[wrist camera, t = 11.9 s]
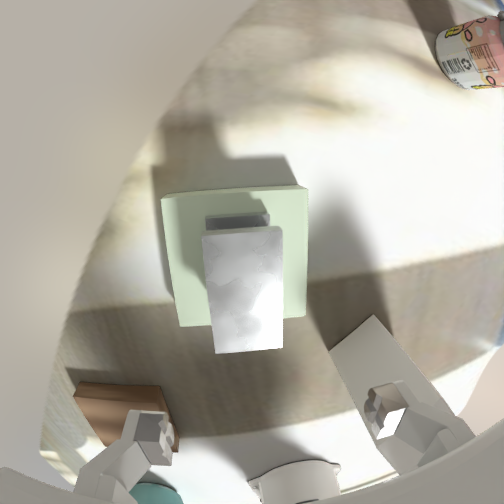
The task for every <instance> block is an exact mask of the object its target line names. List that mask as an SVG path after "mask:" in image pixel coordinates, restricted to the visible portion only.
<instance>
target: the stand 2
mask: <svg viewBox="0 0 504 504" xmlns="http://www.w3.org/2000/svg"><path fill="white" fill-rule="evenodd" d="M161 206H162V215H163V224H164V232H165V239H166V247H167V254H168V261H169V267H170V274H171V280H172V286H173V292H174V297H175V303H176V308H177V314H178V319H179V324H180V327H187V326H204V325H211V318H210V310H209V302H208V294H207V286H206V277H205V268H204V259H203V250H202V240H201V234H202V231H206V224H205V217H206V216H208V215H221V214H234V213H249V212H265V211H268V213H269V214H270V226H280V228H281V229H282V230H283V318H292V317H300V316H305V315H306V293H307V263H308V189H307V188H304V187H302V186H300V185H287V186H264V187H245V188H230V189H216V190H203V191H192V192H181V193H171V194H166V195H165V196H164V197H163V198H161Z"/></svg>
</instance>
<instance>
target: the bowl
mask: <svg viewBox="0 0 504 504" xmlns="http://www.w3.org/2000/svg"><path fill="white" fill-rule="evenodd" d="M128 493H129V494H130V495H131V496H132V497H133V498H134V499H135V500H136V501H137V502H138V504H183V501H182V499H181V497H180V495H179V494H177V493H176V492H175V491H174V490H172V489H170V488H168V487H166V486H163V485H159V484H155V483H138V484H136V485H135V486H134V487H133V488H132V489H131V490H130V491H129V492H128Z"/></svg>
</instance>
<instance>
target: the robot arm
mask: <svg viewBox="0 0 504 504" xmlns="http://www.w3.org/2000/svg"><path fill="white" fill-rule="evenodd" d="M367 395H368V397H369V398H368V399H367V400H366V401H365V404H364V414H365V417H366V419H367V421H368V422H370V423H372V427H371V429H372V431H373V433H374V435H375V437H376V439H380V438H383V437H386V436H390V435H393V434H394V435H395V436H396V437H398V438H399V439H401V440H402V441H404V442H405V443H407V444H409V445H410V446H412V447H413V448H415V449H416V450H418V451H420V452H421V453H423V456H422V457H421V459H420V460H419V461H418V463H417V465H418V468H416V469H414V470H412V471H409V472H407V473H405V474H402V475H400V476H397V477H395V478H392V479H389V480H387V481H384V482H381V483H378V484H375V485H373V486H370V487H366V488H363V489H360V490H357V491H353V492H350V493H346V494H343V495H341V492H340V488H339V484H338V481H337V477H336V475H337V474H338V473H339V472H340V470H341V466H340V465H333V464H329V463H327V462H325V461H319V460H309V461H301V462H295V463H291V464H287V465H284V466H281V467H278V468H275V469H273V470H271V471H269V472H267V473H266V474H264V475H263V476H261V477H259V478H256V479H253V480H251V481H249V482H248V483H249V486H250V488H251V489H252V490H253V491H254V493H255V494H256V495H257V496H258V497H259V499H260V501H261V502H262V504H504V418H503V419H502V420H500V421H499V422H498V423H496V424H495V425H493V426H492V427H490V428H489V429H487V430H486V431H484V432H483V433H481V434H480V435H478V436H475V435H474V434H473V432H472V431H471V429H470V428H469V427H468V425H467V424H466V423H465V421H464V420H463V419H461V418H459V417H457V416H454V415H452V414H449V413H447V412H444V411H442V410H440V409H437V408H435V407H433V406H430V405H428V404H426V403H423V402H421V403H419V401H418V400H417V399H416V397H415V396H414V394H413V393H412V392H411V390H410V389H409V388H408V386H407V385H406V384H405V382H404V381H403V380H398V381H394V382H391V383H387V384H383V385H380V386H376V387H373V388H370V389H369V391H368V394H367ZM168 420H169V416H168V414H167V412H159V411H144V410H130V411H129V412H128V414H127V418H126V421H125V425H124V428H123V432H122V436H121V439H117V440H116V441H114V442H113V443H112V444H111V445H109V446H108V447H107V448H106V449H105V450H103V451H102V452H101V453H100V454H98V455H97V456H96V457H95V458H93V459H92V460H91V461H90V462H88V463H87V464H86V465H84V466H83V467H82V468H81V469H80V472H79V475H78V478H77V482H76V485H75V488H74V492H70V491H67V490H64V489H61V488H57V487H55V486H52V485H49V484H46V483H44V482H41V481H38V480H36V479H33V478H31V477H29V476H26V475H24V474H22V473H19V472H17V471H15V470H13V469H10V468H7V467H3V468H0V504H138V502H137V501H136V500H135V499H134V498H133V497H132V496H131V495H130V494H129V493H128V492H129V491H130V490H131V489H132V488H133V487H134V486H135V484H136V483H137V482H138V481H139V480H140V479H141V477H142V476H143V475H144V474H145V473H146V472H147V471H148V469H149V468H150V467H151V465H163V466H171V465H172V455H173V453H172V450H171V447H172V446H173V445H174V430H173V427H172V424H171V423H169V422H168Z"/></svg>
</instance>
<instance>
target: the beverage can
mask: <svg viewBox="0 0 504 504" xmlns="http://www.w3.org/2000/svg"><path fill="white" fill-rule="evenodd" d="M497 16H498V17H496V16H485V17H482V18H479V19H476V20H473V21H470V22H467V23H464V24H461V25H458V26H455V27H452V28H450V29H447V30H444V31H442V32H441V33H440V34H439V35H438V36H437V39H436V44H435V52H436V56H437V60H438V62H439V64H440V67H441V68H442V70H443V72H444V73H445V75H446V76H447V77H448V78H449V79H450V80H451V81H452V82H453V83H454V84H456V85H457V86H458V87H460V88H462V89H466V90H474V89H484V88H496V87H504V11H500V12H499V14H498V15H497Z"/></svg>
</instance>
